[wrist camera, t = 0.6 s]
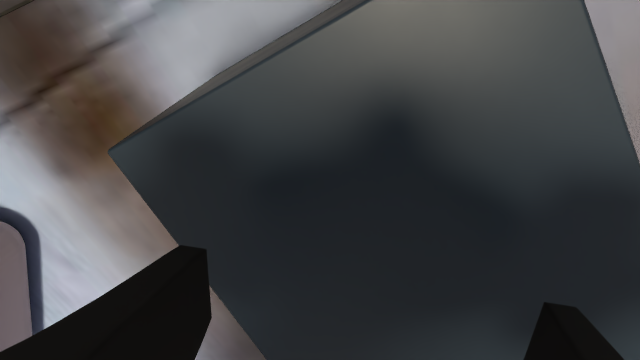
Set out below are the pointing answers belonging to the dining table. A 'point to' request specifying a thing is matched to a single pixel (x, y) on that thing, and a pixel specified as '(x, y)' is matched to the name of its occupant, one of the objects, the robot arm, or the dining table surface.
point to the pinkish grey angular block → (13, 289)
